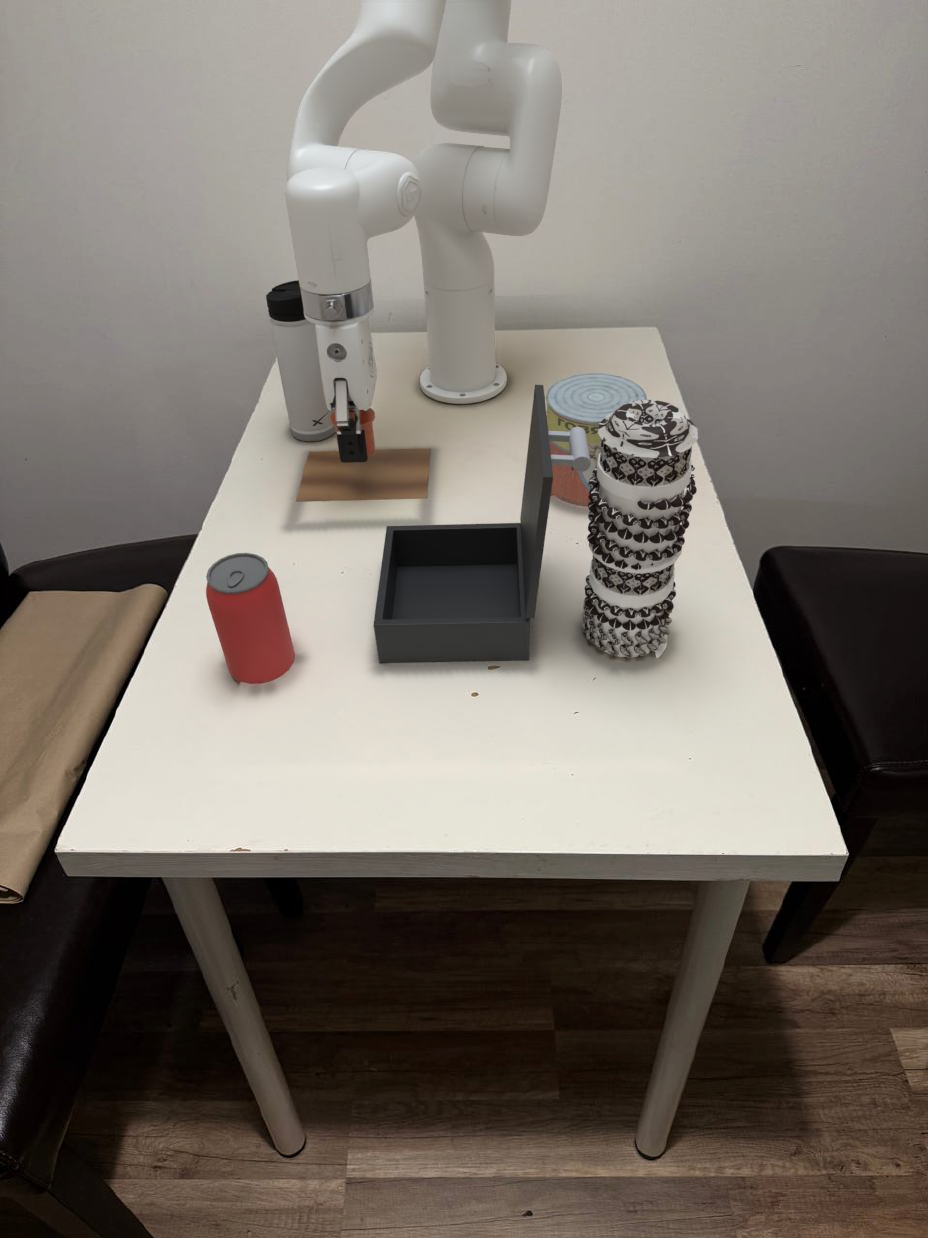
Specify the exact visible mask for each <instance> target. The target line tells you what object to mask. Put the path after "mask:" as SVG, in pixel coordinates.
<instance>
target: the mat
mask: <svg viewBox="0 0 928 1238" xmlns="http://www.w3.org/2000/svg"><path fill="white" fill-rule="evenodd" d="M431 453H432V449H431V447H430V448H429V447H424V448H393V449H392V448H389V449H387V448H386V449H375V451H374V452H373V453H372V454H371V455H370V456H368V459H367V461H366V462H348V463H343V462H341V461H340V455H339V450H317V451H308V454H307V457H306V461H305V464H304V468H303V472H302V475H301V480H300V483H299V487H298V491H297V495H296V498H295V503H304V502H305V503H309V502H310V503H311V502H339V501H340V502H342V501H343V502H348V501H351V502H352V501H385V500H388V501H389V500H424V499H425V500H426V499H428V491H429V489H428V488H429V480H430V479H429V477H430V467H431V466H430V465H431Z"/></svg>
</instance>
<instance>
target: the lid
mask: <svg viewBox="0 0 928 1238" xmlns="http://www.w3.org/2000/svg"><path fill="white" fill-rule="evenodd" d="M533 389H534V390H533V399H532V409H531V417H530V426H529V436H528V446H527V452H526V453H527V454H526V462H525V463H526V464H525V472H524V480H523V491H522V499H521V508H520V517H519V520H520V522H519V523H521V542H522V560H523V579H524V598H525V616H526V618H530V619H535V616H536V615H535V614H536V606H537V599H538V593H539V585H540V579H541V578H540V577H541V571H542V563H543V556H544V547H545V540H546V535H547V534H546V532H547V526H548V519H549V511H550V503H551V496H552V495H551V490H552V482H553V471H552V465H559V466H572V467H573V469H574V470H576V471H578V472H584V471H586V470H588V469H589V467H590V465H591V462H590V456H589V450H588V443H587V437H586V432H585V430H584V429H583V428H581V427H574V428H572V429H571V430H570V431H569V432H563V431H548V424H547V404H546V397H545V396H546V395H545V388H544V384H534V388H533ZM549 441H559V442H569V445H570V453H571V455H551V452H550V443H549Z"/></svg>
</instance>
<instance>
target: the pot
mask: <svg viewBox="0 0 928 1238" xmlns="http://www.w3.org/2000/svg"><path fill="white" fill-rule="evenodd" d="M360 413H361V426H362V430H365V438H366V446H367V454H368V456H370V455H371V454H372V453H373V452H374V451H375V450H376V442H375V435H374V424H373V422H374V421H375V419H376V413H375V410H373V408H371V407H370V408H369V409H368V410H367V411H364V410H360ZM349 416H350V418H353V419H354V421H355V413H354V412H349ZM330 420H331V423H332V424H333V425H334V426H335V430H336V420H335V411H334V412H333V413H332V414H331V416H330ZM335 434H336V433H335ZM336 438H337V434H336ZM336 443H337V444H338V441H337V440H336ZM337 451H339V448H338V447H337Z"/></svg>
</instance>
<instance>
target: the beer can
mask: <svg viewBox="0 0 928 1238" xmlns="http://www.w3.org/2000/svg"><path fill="white" fill-rule="evenodd" d="M205 577H206V582H207V583H206V588H205V596H206V601H207V605H208V609H209V612H210V615H211V618H212V621H213V625H214V627H215V628H214V629H215V631H216V634H217V637H218V641H219V643H220V647H221V651H222V653H223V657H224V660H225V663H226V666H227V670H228V673H229V674H230V675H231V677H232V678H233V679H234V680H235V681H237V682H239V683H244V684H245V683H246V684H249V685H254V684H255V685H256V684H257V685H258V684H260V685H261V684H265V683H269V682H272V681H274V680H277V679H278V678H280V677H282V676H284V675H285V674H286V673H287V672H289V670H290V669H291V667H292V666H293V664H294V662H295V657H296V653H295V649H294V644H293V640H292V636H291V632H290V628H289V623H288V618H287V615H286V614H287V613H286V610H285V606H284V601H283V598H282V594H281V589H280V583H279V582H278V578H277V576H276V575H275V573H274V571H273V570H272V569H271V568H270V567H269V563H268V561H266V559H265V558H264V557H262V556H260V555H258V554H256V553H251V552H236V553H232V554H228V555H225V556H224V557H222V558H220V559H218V560H217V561H215V562H214V563H213V564H212V565H211V566H210V567H209V569H208V570H207V573H206V576H205Z"/></svg>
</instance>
